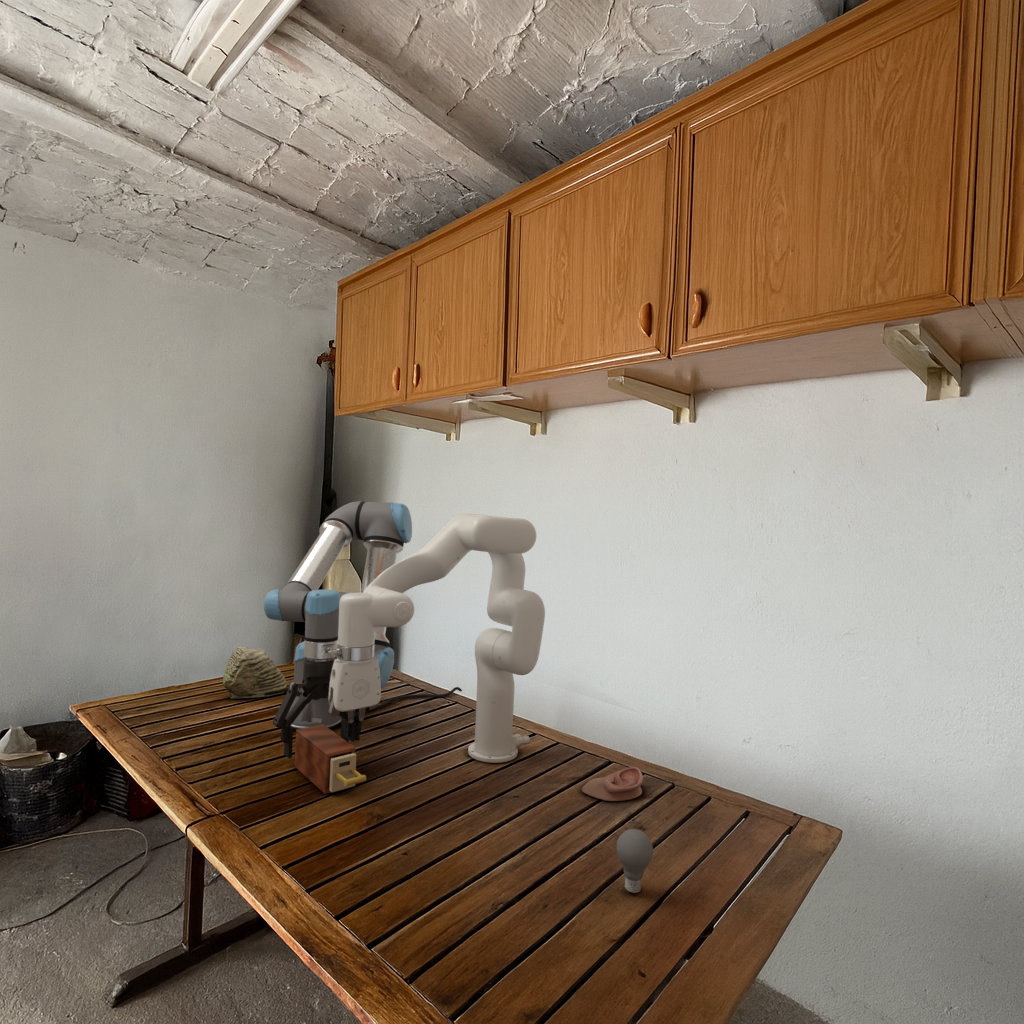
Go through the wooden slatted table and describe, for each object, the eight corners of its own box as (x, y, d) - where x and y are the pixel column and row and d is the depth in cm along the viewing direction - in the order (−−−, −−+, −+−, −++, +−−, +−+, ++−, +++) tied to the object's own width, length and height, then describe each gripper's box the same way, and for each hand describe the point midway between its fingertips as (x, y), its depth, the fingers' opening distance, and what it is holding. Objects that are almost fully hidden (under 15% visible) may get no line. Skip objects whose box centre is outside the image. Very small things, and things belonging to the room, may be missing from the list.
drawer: (367, 796, 133) (369, 763, 133) (343, 803, 130) (345, 770, 130) (324, 760, 150) (325, 732, 149) (302, 766, 146) (303, 736, 146)
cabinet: (353, 786, 139) (355, 747, 139) (325, 794, 135) (326, 754, 135) (321, 759, 152) (322, 724, 152) (294, 766, 148) (295, 729, 148)
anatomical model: (581, 779, 138) (585, 758, 149) (580, 797, 138) (585, 775, 149) (643, 787, 135) (643, 766, 147) (642, 806, 136) (642, 783, 147)
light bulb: (610, 879, 108) (613, 822, 108) (644, 879, 109) (647, 822, 109) (619, 902, 102) (622, 840, 102) (655, 901, 103) (658, 840, 103)
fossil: (218, 695, 195) (220, 647, 195) (278, 685, 208) (279, 640, 207) (228, 703, 189) (230, 653, 188) (289, 692, 201) (290, 645, 201)
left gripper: (272, 668, 135) (268, 767, 135) (377, 654, 151) (373, 743, 151) (260, 661, 141) (256, 756, 141) (362, 648, 157) (359, 733, 157)
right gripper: (329, 661, 125) (326, 753, 126) (396, 651, 135) (392, 737, 135) (314, 653, 131) (310, 741, 131) (379, 644, 141) (375, 726, 141)
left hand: (317, 749), depth 146 cm, fingers open, 13 cm apart
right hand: (352, 738), depth 133 cm, fingers closed
